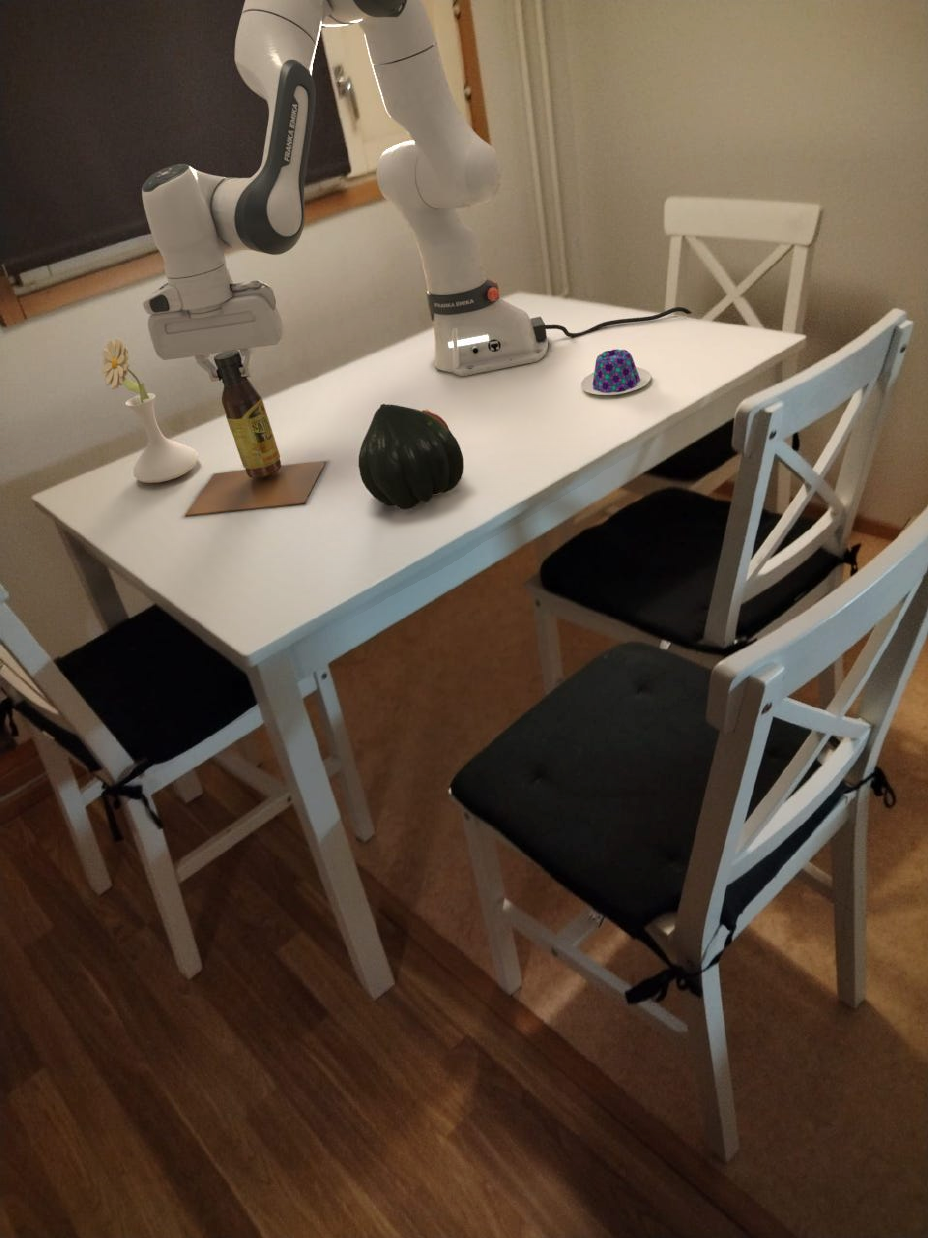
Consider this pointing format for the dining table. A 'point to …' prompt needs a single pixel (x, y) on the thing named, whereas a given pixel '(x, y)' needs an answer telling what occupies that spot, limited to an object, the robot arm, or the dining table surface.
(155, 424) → the flower in vase
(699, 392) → the dining table surface
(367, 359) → the dining table surface
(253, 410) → the sauce bottle
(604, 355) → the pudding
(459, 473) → the squash
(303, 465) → the cork mat
